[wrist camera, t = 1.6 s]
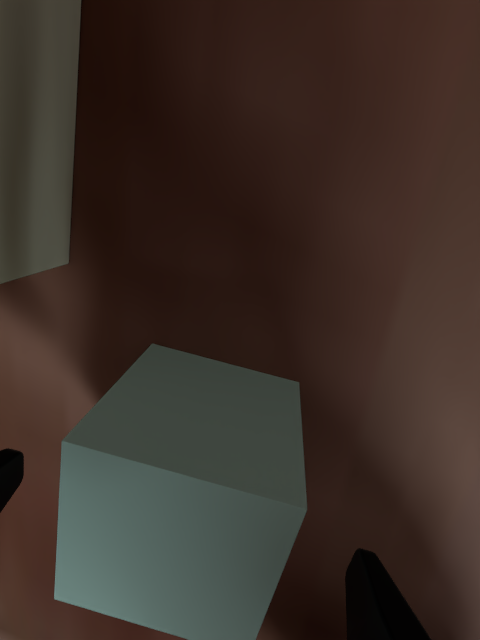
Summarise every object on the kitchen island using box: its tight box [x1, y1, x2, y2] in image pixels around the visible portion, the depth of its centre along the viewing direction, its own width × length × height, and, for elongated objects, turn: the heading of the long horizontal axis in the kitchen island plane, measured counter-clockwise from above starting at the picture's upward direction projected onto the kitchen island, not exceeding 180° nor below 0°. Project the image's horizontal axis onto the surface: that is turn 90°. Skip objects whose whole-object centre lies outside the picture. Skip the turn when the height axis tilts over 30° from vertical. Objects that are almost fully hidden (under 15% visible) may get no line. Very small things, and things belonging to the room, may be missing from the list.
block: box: [54, 344, 307, 640], centre depth 10 cm, size 5×5×5 cm
